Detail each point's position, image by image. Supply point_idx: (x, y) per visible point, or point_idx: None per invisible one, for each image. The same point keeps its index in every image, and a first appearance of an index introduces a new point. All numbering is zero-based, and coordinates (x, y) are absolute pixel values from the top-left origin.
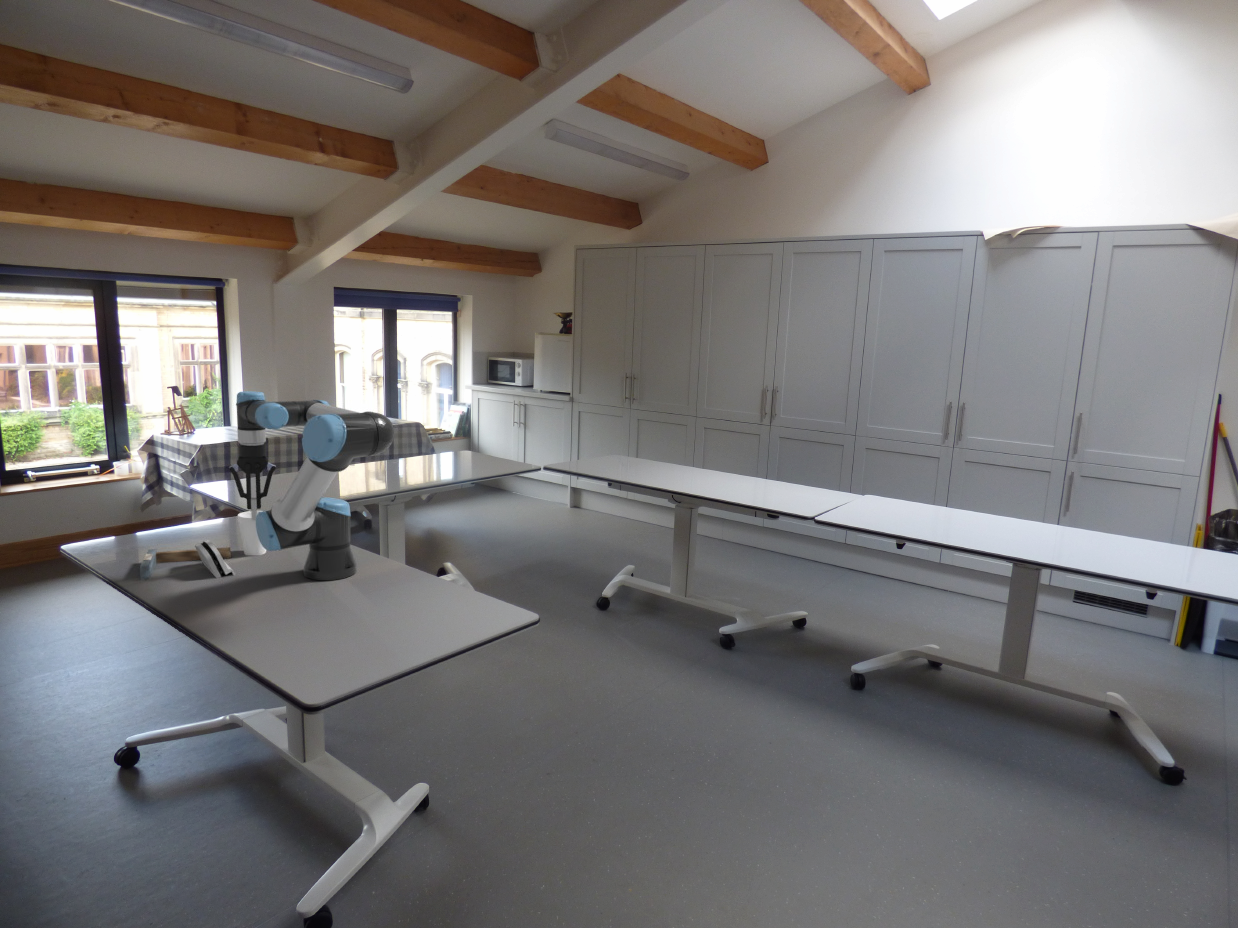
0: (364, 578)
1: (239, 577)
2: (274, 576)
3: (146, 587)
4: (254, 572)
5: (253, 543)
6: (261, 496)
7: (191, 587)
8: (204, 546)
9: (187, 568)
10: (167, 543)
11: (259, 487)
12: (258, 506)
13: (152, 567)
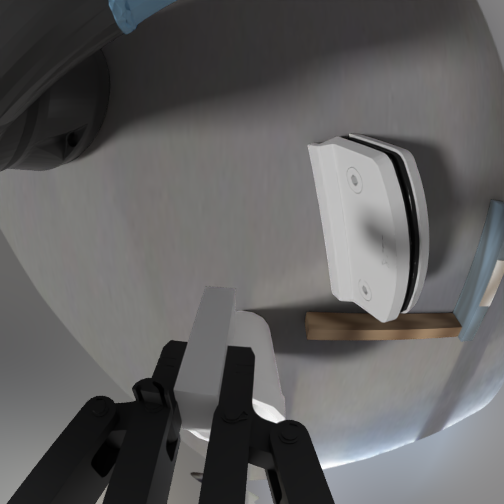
0: None
1: (296, 112)
2: (190, 88)
3: (500, 137)
4: (249, 148)
5: (244, 332)
6: (133, 409)
7: (423, 78)
8: (416, 238)
9: None
10: (396, 411)
11: (119, 479)
12: (177, 354)
13: (478, 262)
